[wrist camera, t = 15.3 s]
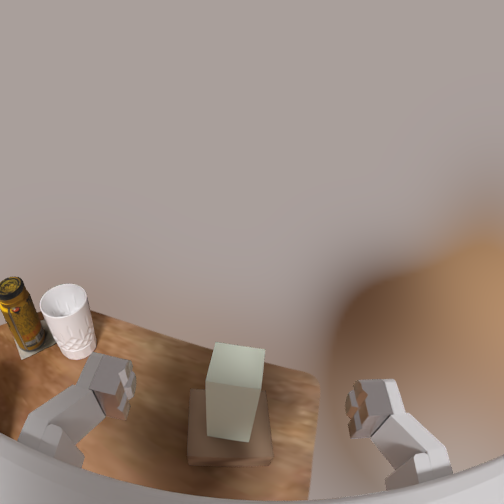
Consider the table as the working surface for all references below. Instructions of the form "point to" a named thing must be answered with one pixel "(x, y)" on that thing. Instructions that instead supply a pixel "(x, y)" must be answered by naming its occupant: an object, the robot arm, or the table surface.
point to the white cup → (69, 320)
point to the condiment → (23, 318)
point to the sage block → (233, 390)
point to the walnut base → (224, 450)
